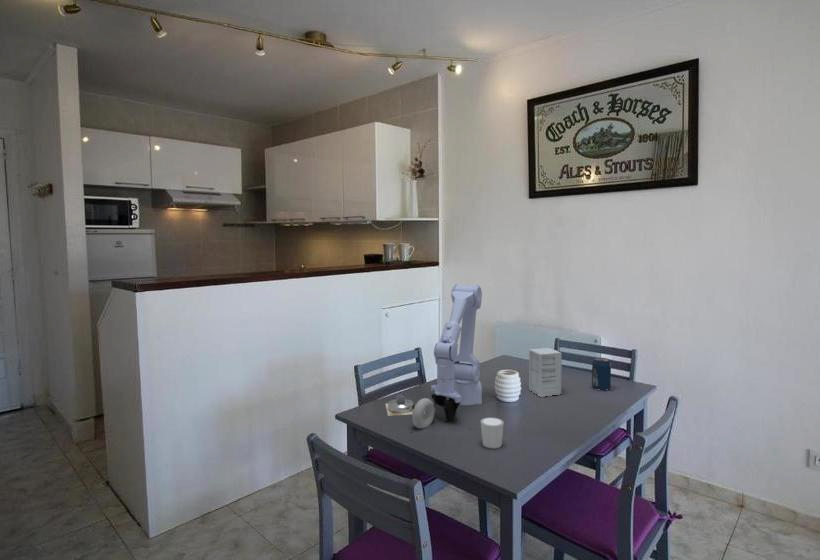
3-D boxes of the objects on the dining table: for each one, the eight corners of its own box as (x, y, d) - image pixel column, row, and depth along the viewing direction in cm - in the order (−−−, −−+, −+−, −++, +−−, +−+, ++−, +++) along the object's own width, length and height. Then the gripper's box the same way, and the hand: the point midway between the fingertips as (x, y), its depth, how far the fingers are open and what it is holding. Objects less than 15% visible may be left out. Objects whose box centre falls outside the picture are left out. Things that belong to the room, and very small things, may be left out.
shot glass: (478, 439, 145) (478, 417, 144) (500, 438, 145) (500, 416, 145) (483, 449, 138) (483, 426, 137) (506, 448, 139) (506, 425, 138)
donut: (419, 435, 148) (418, 404, 147) (410, 432, 151) (409, 402, 150) (437, 425, 156) (436, 395, 155) (428, 422, 158) (428, 393, 157)
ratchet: (444, 401, 175) (444, 389, 174) (449, 410, 166) (449, 397, 165) (387, 404, 172) (386, 392, 172) (389, 414, 163) (388, 401, 163)
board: (444, 403, 176) (444, 400, 176) (451, 415, 164) (451, 411, 164) (385, 406, 174) (385, 403, 173) (388, 419, 162) (388, 415, 162)
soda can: (611, 387, 192) (612, 358, 190) (608, 392, 186) (609, 362, 185) (593, 384, 195) (594, 356, 194) (589, 389, 190) (590, 360, 188)
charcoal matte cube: (447, 417, 163) (447, 400, 162) (456, 422, 158) (456, 404, 158) (435, 420, 160) (435, 403, 159) (444, 425, 156) (444, 407, 155)
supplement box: (561, 395, 183) (562, 352, 181) (540, 397, 181) (540, 354, 179) (548, 387, 192) (549, 347, 191) (528, 390, 190) (528, 348, 188)
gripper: (423, 374, 162) (423, 413, 163) (449, 385, 149) (449, 427, 151) (440, 371, 165) (440, 408, 167) (466, 381, 153) (466, 422, 155)
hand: (446, 417), depth 159 cm, fingers closed on charcoal matte cube, 5 cm apart
